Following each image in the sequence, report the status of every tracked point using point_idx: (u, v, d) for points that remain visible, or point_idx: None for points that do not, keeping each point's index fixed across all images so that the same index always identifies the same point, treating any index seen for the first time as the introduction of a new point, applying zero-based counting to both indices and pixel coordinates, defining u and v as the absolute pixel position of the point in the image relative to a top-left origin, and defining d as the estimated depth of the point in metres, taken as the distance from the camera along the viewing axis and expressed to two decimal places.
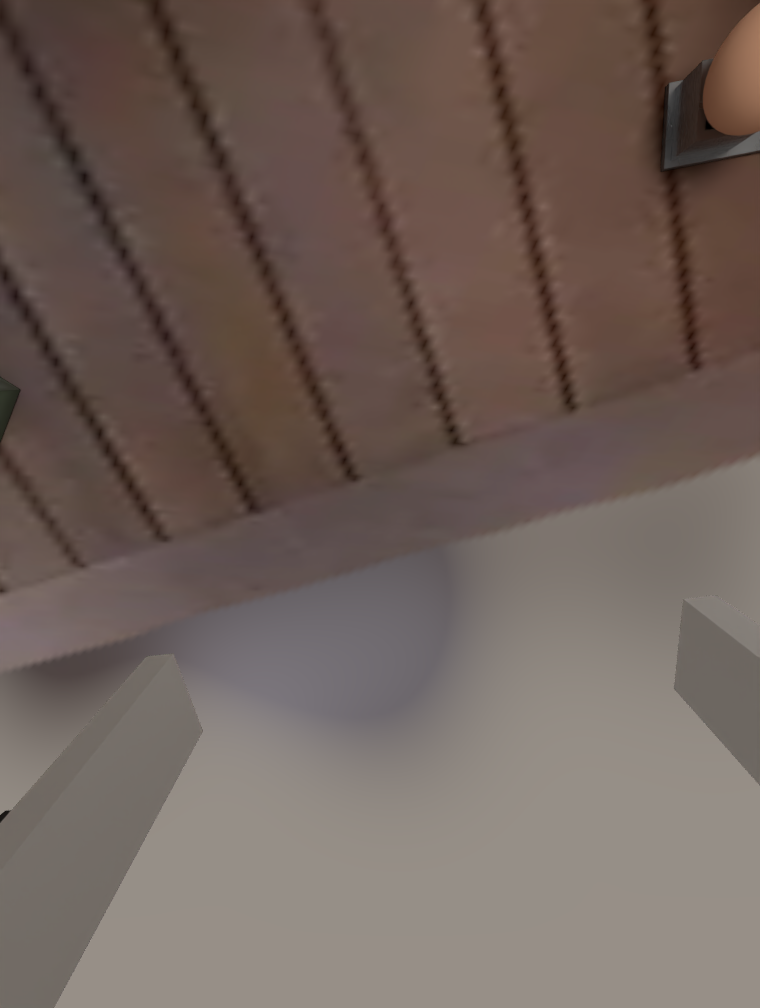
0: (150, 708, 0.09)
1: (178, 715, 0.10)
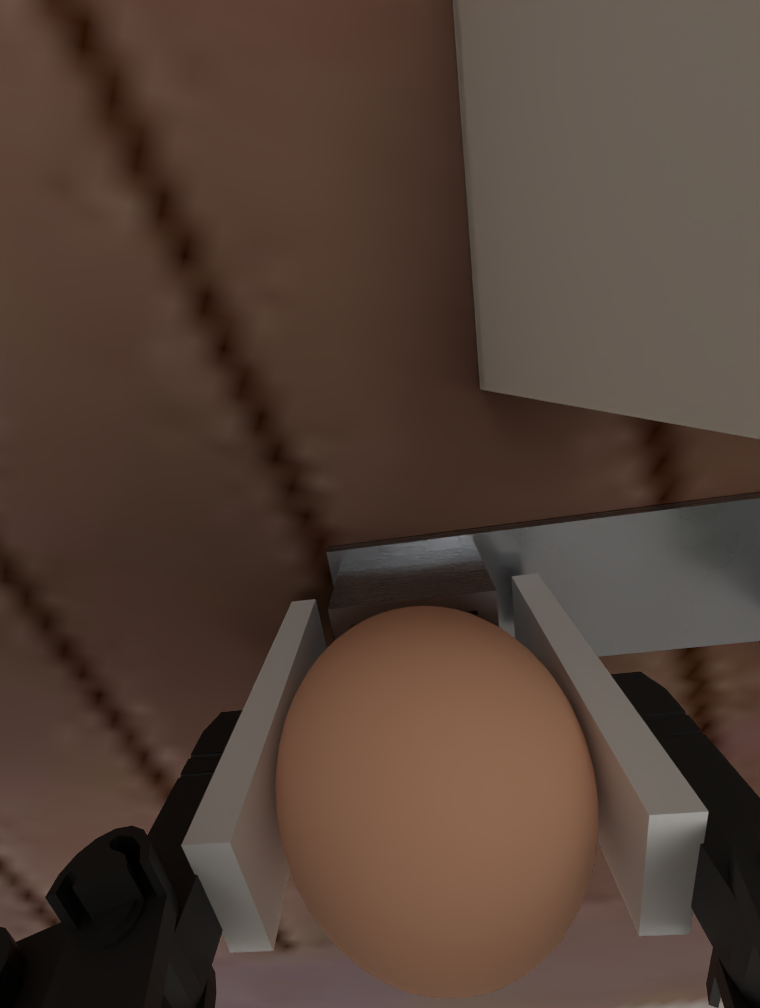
0: (310, 641, 0.11)
1: (321, 652, 0.12)
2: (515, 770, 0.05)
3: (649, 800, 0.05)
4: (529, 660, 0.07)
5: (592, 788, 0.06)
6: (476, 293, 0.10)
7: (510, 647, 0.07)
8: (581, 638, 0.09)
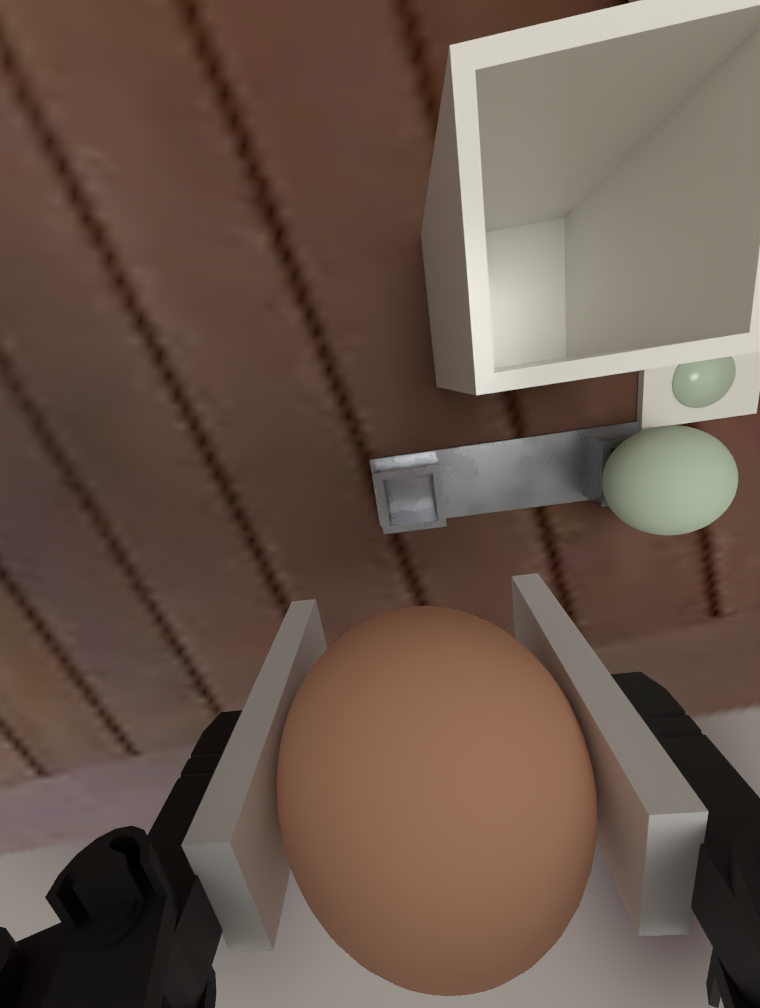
0: (310, 641, 0.11)
1: (321, 652, 0.12)
2: (514, 769, 0.05)
3: (649, 800, 0.05)
4: (528, 660, 0.07)
5: (591, 787, 0.06)
6: (433, 348, 0.25)
7: (509, 647, 0.07)
8: (581, 638, 0.09)
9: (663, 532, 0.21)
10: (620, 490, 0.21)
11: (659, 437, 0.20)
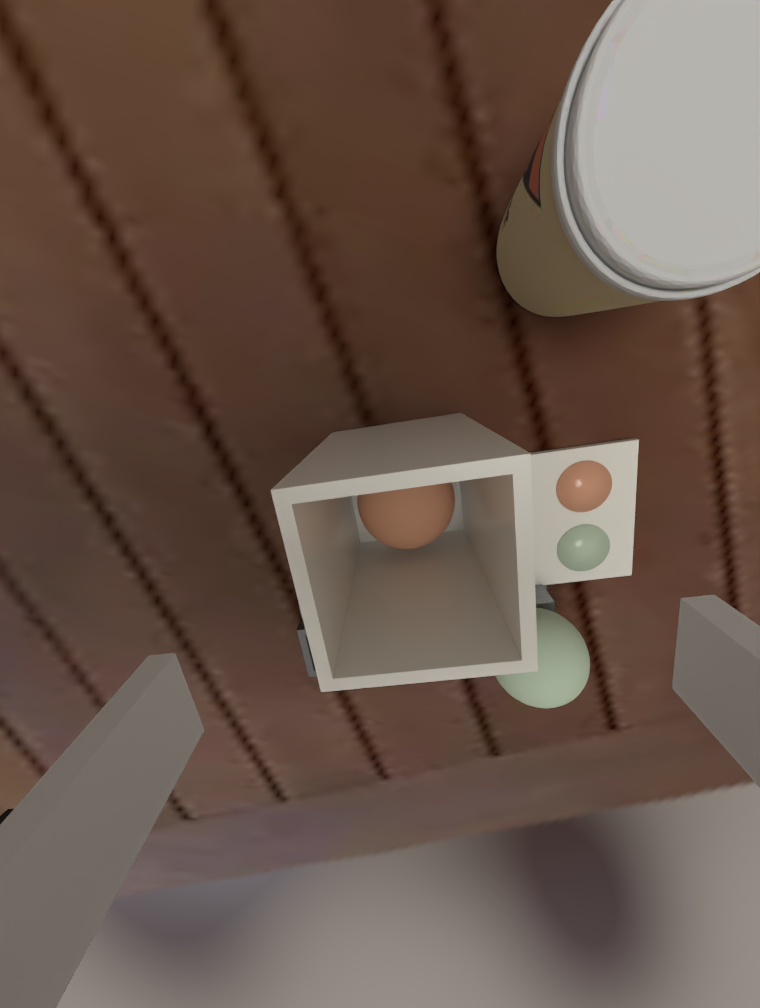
0: (152, 707, 0.09)
1: (180, 714, 0.10)
2: None
3: None
4: None
5: (449, 489, 0.22)
6: None
7: None
8: None
9: (532, 705, 0.24)
10: None
11: None
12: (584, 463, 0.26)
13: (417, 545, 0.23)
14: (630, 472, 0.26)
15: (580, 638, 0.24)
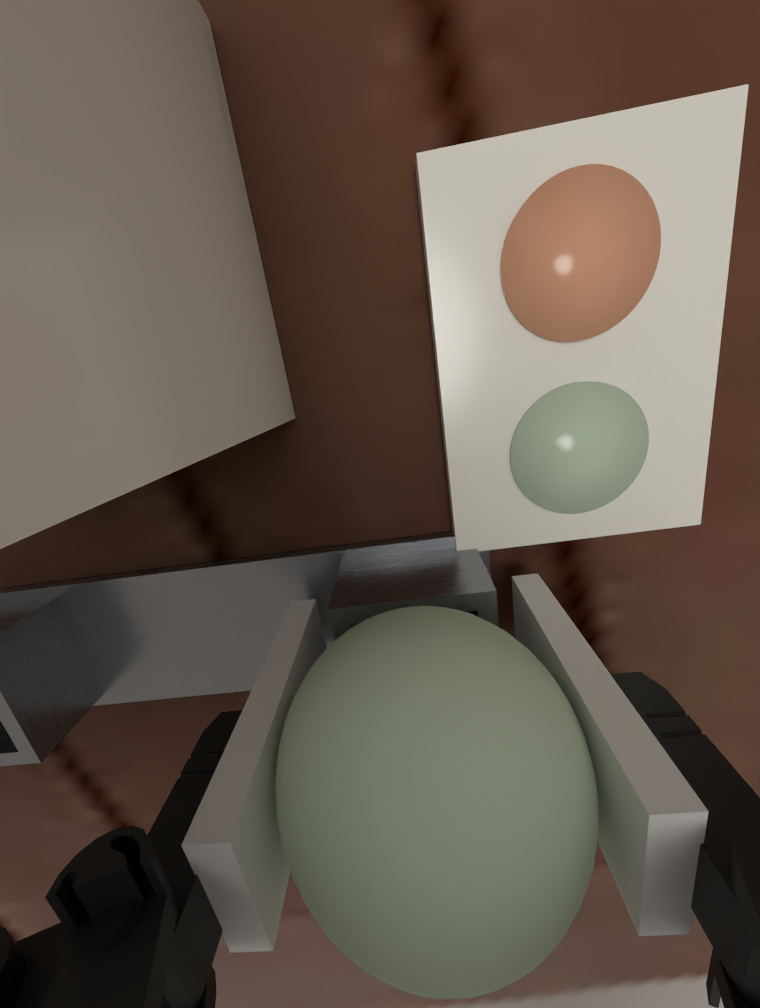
0: (310, 640, 0.11)
1: (321, 652, 0.12)
2: None
3: (649, 800, 0.05)
4: None
5: None
6: None
7: None
8: (581, 638, 0.09)
9: None
10: None
11: (355, 693, 0.06)
12: (580, 175, 0.09)
13: None
14: (715, 208, 0.09)
15: (564, 719, 0.06)
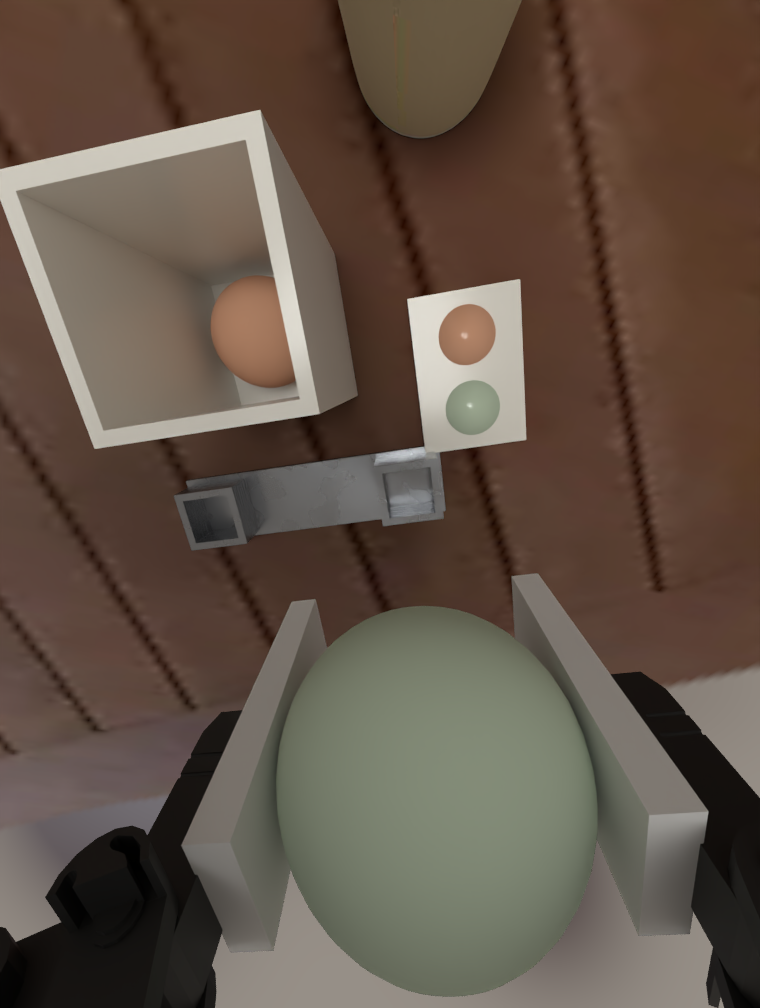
0: (310, 640, 0.11)
1: (321, 652, 0.12)
2: (268, 285, 0.20)
3: (649, 800, 0.05)
4: None
5: None
6: None
7: None
8: (581, 638, 0.09)
9: None
10: None
11: (355, 693, 0.06)
12: (465, 307, 0.25)
13: (269, 372, 0.22)
14: (514, 318, 0.25)
15: (563, 719, 0.06)
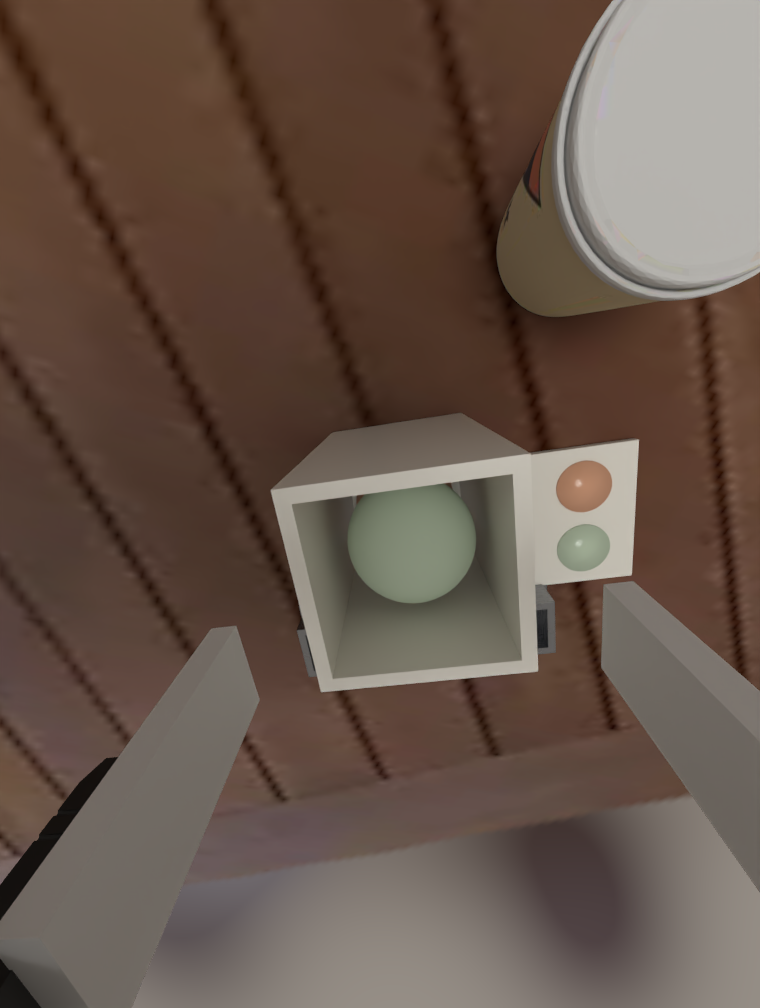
0: (221, 673, 0.10)
1: (241, 682, 0.11)
2: None
3: None
4: None
5: None
6: None
7: None
8: (718, 658, 0.07)
9: (399, 601, 0.17)
10: (350, 552, 0.18)
11: None
12: (584, 463, 0.26)
13: None
14: (630, 472, 0.26)
15: (460, 502, 0.17)
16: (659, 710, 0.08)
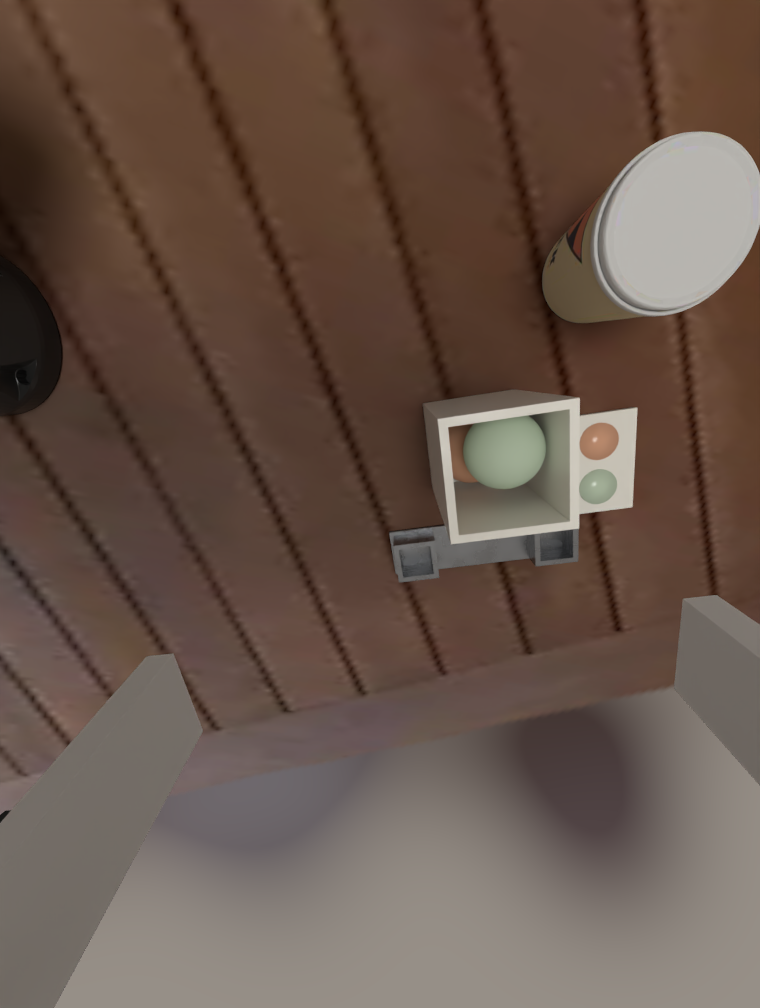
0: (150, 708, 0.09)
1: (178, 715, 0.10)
2: None
3: None
4: None
5: None
6: (430, 467, 0.39)
7: None
8: None
9: (521, 477, 0.28)
10: (490, 449, 0.27)
11: None
12: (599, 424, 0.37)
13: (475, 479, 0.34)
14: (631, 431, 0.37)
15: None
16: None
